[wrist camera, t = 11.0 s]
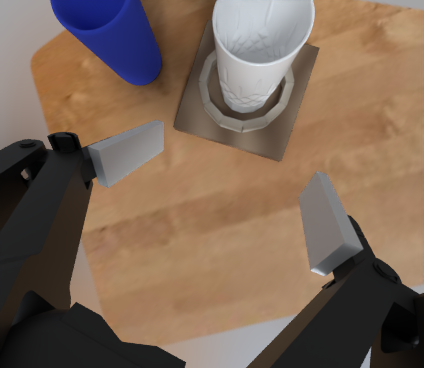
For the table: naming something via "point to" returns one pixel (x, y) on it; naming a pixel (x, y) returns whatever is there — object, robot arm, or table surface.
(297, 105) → the brown flat ringed piece
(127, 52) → the mug
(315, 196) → the robot arm
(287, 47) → the white cup
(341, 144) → the table surface
